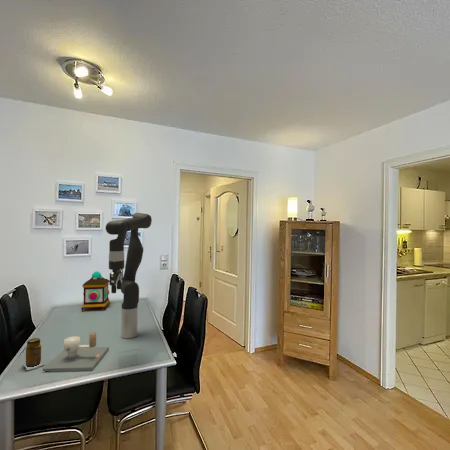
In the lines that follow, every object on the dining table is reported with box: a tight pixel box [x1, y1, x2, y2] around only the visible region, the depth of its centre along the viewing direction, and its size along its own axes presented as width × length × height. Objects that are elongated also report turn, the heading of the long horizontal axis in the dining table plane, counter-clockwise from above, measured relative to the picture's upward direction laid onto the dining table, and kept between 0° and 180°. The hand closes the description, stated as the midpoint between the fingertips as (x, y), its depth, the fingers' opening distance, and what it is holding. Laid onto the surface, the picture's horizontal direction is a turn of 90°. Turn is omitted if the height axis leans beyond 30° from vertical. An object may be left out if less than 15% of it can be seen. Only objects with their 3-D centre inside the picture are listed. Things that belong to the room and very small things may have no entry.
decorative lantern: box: [81, 271, 111, 312], centre depth 227 cm, size 20×20×30 cm
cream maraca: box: [63, 332, 97, 352], centre depth 139 cm, size 15×9×8 cm, turn 92°
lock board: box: [42, 346, 109, 372], centre depth 139 cm, size 22×22×5 cm
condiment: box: [25, 337, 42, 367], centre depth 133 cm, size 7×8×12 cm
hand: (116, 291), depth 145 cm, fingers open, 8 cm apart
